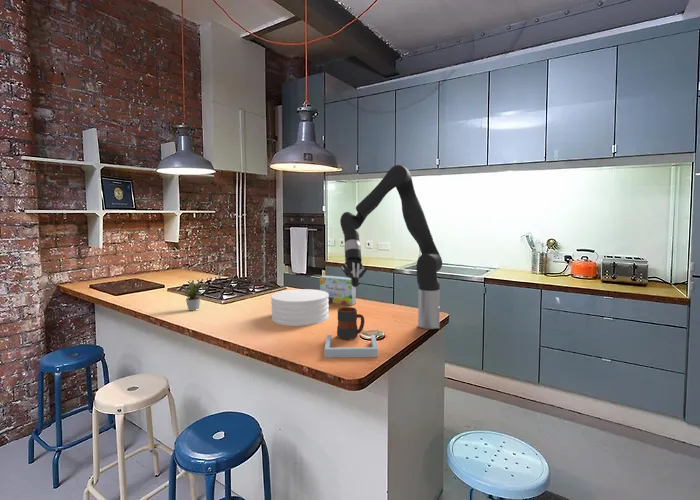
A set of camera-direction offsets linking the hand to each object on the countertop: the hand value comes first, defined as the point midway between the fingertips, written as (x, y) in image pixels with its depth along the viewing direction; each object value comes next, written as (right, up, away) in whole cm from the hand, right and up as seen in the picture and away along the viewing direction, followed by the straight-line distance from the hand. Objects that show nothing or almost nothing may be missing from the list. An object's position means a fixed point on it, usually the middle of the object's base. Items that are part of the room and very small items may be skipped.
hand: (355, 286), depth 166 cm
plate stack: (-27, -18, +21) cm, 38 cm away
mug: (-2, -20, -10) cm, 23 cm away
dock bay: (-2, -21, -23) cm, 32 cm away
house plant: (-85, -16, +36) cm, 94 cm away
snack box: (-9, -15, +50) cm, 53 cm away
